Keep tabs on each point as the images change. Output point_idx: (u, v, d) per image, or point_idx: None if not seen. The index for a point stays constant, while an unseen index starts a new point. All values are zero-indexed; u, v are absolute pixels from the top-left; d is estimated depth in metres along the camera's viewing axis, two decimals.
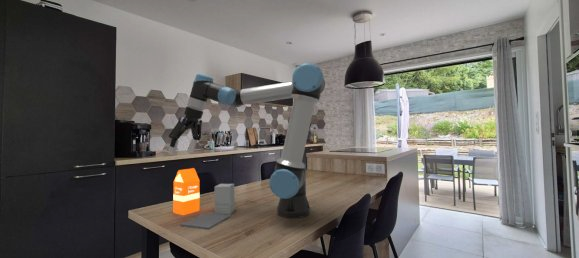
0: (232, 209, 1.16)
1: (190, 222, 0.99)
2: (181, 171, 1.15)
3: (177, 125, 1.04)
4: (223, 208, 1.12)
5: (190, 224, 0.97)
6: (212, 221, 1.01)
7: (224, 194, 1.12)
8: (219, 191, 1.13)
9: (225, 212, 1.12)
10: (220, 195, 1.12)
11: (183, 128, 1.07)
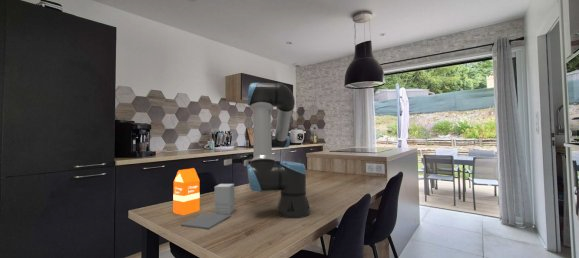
0: (232, 209, 1.16)
1: (190, 222, 0.99)
2: (181, 171, 1.15)
3: None
4: (223, 208, 1.12)
5: (190, 224, 0.97)
6: (212, 221, 1.01)
7: (224, 194, 1.12)
8: (219, 191, 1.13)
9: (225, 212, 1.12)
10: (220, 195, 1.12)
11: None
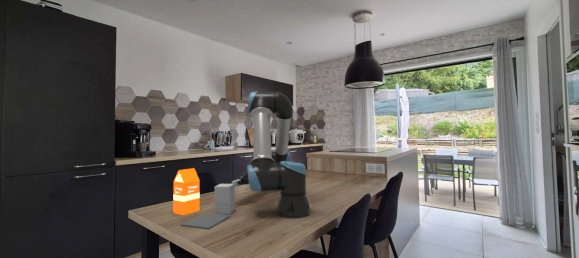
0: (232, 209, 1.16)
1: (190, 222, 0.99)
2: (181, 171, 1.15)
3: None
4: (223, 208, 1.12)
5: (190, 224, 0.97)
6: (212, 221, 1.01)
7: (224, 194, 1.12)
8: (219, 191, 1.13)
9: (225, 212, 1.12)
10: (220, 195, 1.12)
11: None
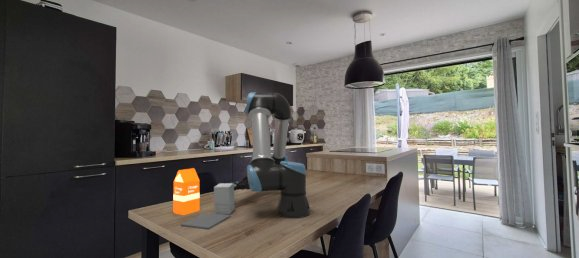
0: (232, 209, 1.15)
1: (190, 222, 0.99)
2: (181, 171, 1.15)
3: None
4: (223, 208, 1.12)
5: (190, 224, 0.97)
6: (212, 221, 1.01)
7: (223, 195, 1.12)
8: (219, 191, 1.12)
9: (225, 212, 1.12)
10: (220, 195, 1.12)
11: None
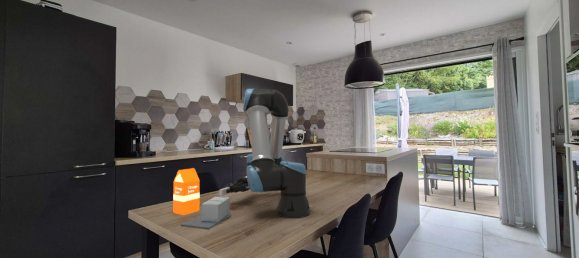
0: (229, 205, 1.11)
1: (190, 222, 0.99)
2: (181, 171, 1.15)
3: None
4: None
5: (190, 224, 0.97)
6: None
7: None
8: None
9: None
10: None
11: None
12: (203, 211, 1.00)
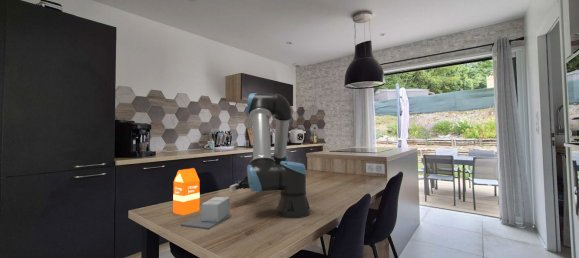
0: (229, 205, 1.11)
1: (190, 222, 0.99)
2: (181, 171, 1.15)
3: None
4: None
5: (190, 224, 0.97)
6: None
7: None
8: None
9: None
10: None
11: None
12: (203, 211, 1.00)
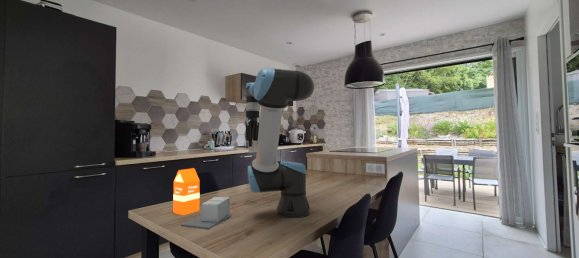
0: (229, 205, 1.11)
1: (190, 222, 0.99)
2: (181, 171, 1.15)
3: (247, 129, 1.33)
4: None
5: (190, 224, 0.97)
6: None
7: None
8: None
9: None
10: None
11: (251, 129, 1.36)
12: (203, 211, 1.00)
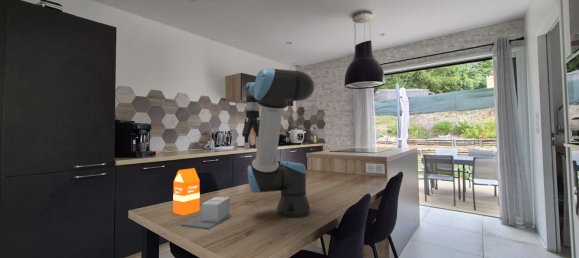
0: (229, 205, 1.11)
1: (190, 222, 0.99)
2: (181, 171, 1.15)
3: (245, 125, 1.32)
4: None
5: (190, 224, 0.97)
6: None
7: None
8: None
9: None
10: None
11: (249, 127, 1.34)
12: (203, 211, 1.00)
